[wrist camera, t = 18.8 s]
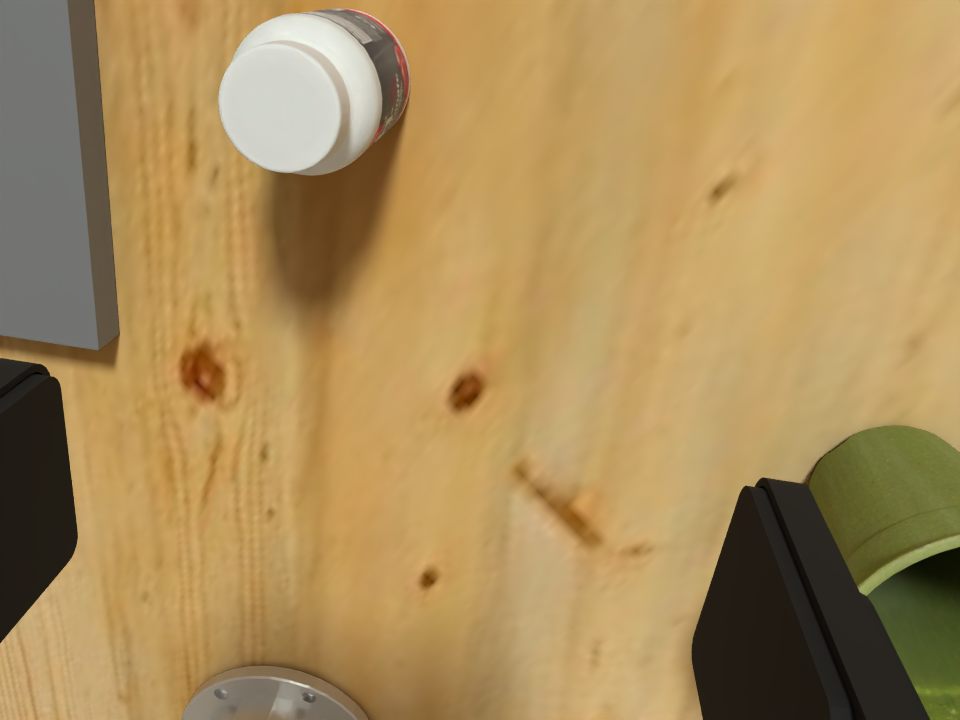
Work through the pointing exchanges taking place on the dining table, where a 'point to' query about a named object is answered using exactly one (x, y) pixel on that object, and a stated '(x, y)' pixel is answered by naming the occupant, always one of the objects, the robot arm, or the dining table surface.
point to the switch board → (54, 178)
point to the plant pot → (903, 546)
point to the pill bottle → (313, 90)
